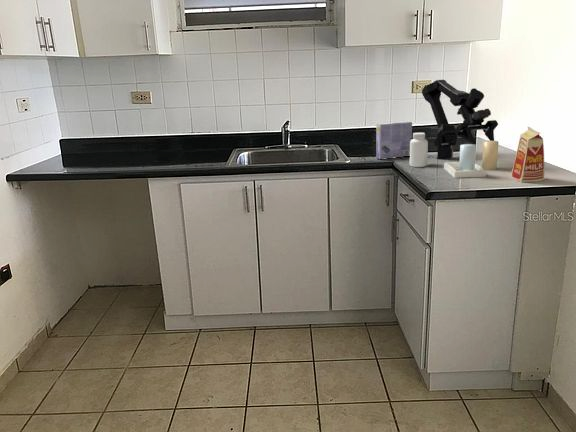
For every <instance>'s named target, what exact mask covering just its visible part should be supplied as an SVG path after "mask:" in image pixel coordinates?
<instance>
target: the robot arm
mask: <svg viewBox="0 0 576 432" xmlns="http://www.w3.org/2000/svg"><path fill="white" fill-rule="evenodd" d="M421 94H422V96H423V99H424V100H425V101H426V102H427V103H429V105H430V107H431V108H430V109H431V110H432V113H433V115H434V119H435V121H436V125H437V128H438V129H437V134H436V135H437V137H436V139H434V142H433V143H434V146H435V147H437V153H436V154H437V155H436V158H435V159H436V160H438V159H439V160H450V159H452V158H453V157H454V148H453V146H456V144H457V140H458V137H459V138H462V139H464V140H466V141H467V142H469V143H470V144H474V145H477V144H476V142H477V141H476V139H475V137H474V136H473V134H472V131H481V130H482V131H483V132H484V135H485V136H486V138H487V139H488V141H495V133H494V131H495V130H496V128H497V127H498V125H499V123H498V120H497V119H491V120H486V122H485V119H487V118H489V117H490V116H491V115H492V112H491V109H490V108H484V109H478V110H475V109H477V108H478V107H479V105H480V104H481V102H482V101H483V99H484V98H485V95H484V93H483V92H482V91H480V90H477V88H476V87H475V88H474V87H473V88H471V89H470V91H469V92H467V91H463V90H458V89H457V88H456V87H454V86H453V85H451V84H450V83H448V82H447V81H446V80H445V79H436V80H435V81H433V82H431V83H428V84H426V85H424V87H423V88H422V90H421ZM442 94H444V95H445V96H446V97H448V98H449V102H450V103H451V104H452V105H453V106H454V107H459V108H458V109H457V112H456V115H458V116H459V115H461V117H462V118H463V121H462V122H460V123H458V125H457V127H455V126H454V124H453V125H451V124H449V121H448V119H447V115H446V113H445V111H444V107H443V105H442V102H441V100H440V99H441V96H442ZM484 122H485V123H484ZM483 123H484V124H483Z"/></svg>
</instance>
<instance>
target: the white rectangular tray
mask: <svg viewBox="0 0 576 432" xmlns="http://www.w3.org/2000/svg"><path fill="white" fill-rule="evenodd" d="M459 163H460V161H454V162H453V161H452V162H450V161H449V162H443V169H444V170H445V171H446V172H447V173H449V175H450V176H452V177H453V178H454V179H459V178H460V179H463V178H486V177H487V170H485V169H483V168H482V166H480V165H479V164H477V163H475V170H472V171H459Z"/></svg>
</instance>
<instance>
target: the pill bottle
mask: <svg viewBox="0 0 576 432" xmlns="http://www.w3.org/2000/svg"><path fill="white" fill-rule="evenodd" d="M412 138H413V139H412V140H411V141H410V157H409V162H408V163H409V166H410V167H412V168H424V167H427V166H428V154H429V153H428V152H429V151H428V148H429V141H428V140H427V139H426V133H425V132H412Z"/></svg>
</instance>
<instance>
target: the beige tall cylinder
mask: <svg viewBox="0 0 576 432" xmlns="http://www.w3.org/2000/svg"><path fill="white" fill-rule="evenodd" d="M482 143H483V144H482V158H481V168H483V169H485V170H486V171H495V170H497V169H498V155H499V141H498V140H494V141H490V140H483V141H482Z"/></svg>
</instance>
